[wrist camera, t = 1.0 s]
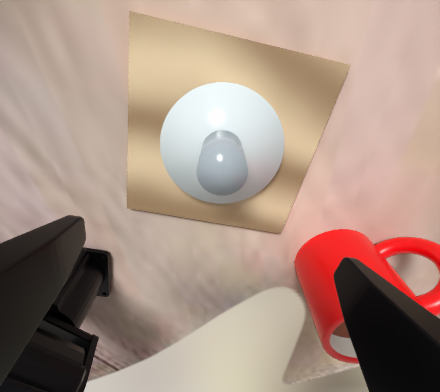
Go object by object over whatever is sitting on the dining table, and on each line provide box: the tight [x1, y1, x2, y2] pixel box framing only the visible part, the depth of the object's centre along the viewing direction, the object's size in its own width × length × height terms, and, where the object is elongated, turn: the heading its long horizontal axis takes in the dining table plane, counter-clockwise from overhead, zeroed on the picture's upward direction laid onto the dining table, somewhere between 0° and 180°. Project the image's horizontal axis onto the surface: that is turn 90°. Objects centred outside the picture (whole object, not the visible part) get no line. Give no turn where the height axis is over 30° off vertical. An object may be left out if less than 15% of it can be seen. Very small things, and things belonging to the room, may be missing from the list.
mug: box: [295, 229, 440, 364], centre depth 21 cm, size 8×12×8 cm, turn 127°
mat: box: [127, 11, 351, 234], centre depth 18 cm, size 14×14×1 cm
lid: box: [160, 82, 284, 204], centre depth 16 cm, size 9×9×5 cm
